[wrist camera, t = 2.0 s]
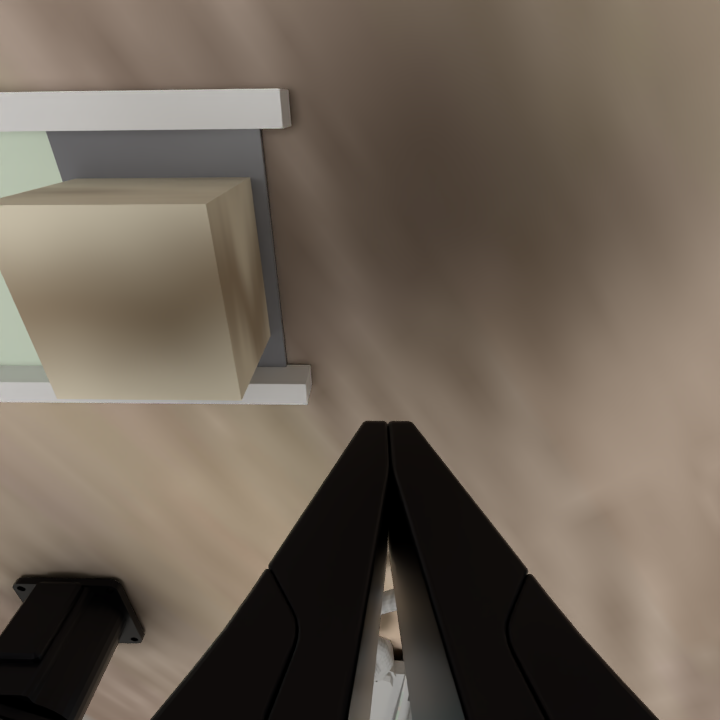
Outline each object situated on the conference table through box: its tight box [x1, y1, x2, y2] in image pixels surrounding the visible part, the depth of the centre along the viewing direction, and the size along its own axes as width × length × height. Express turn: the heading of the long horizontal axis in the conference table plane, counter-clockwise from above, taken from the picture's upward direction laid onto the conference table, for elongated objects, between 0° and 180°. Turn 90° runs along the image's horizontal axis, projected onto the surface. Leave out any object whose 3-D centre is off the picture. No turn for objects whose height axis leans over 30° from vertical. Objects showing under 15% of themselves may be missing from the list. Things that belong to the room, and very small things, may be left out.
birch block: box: [0, 177, 271, 401], centre depth 14 cm, size 6×6×4 cm
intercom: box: [370, 589, 412, 720], centre depth 29 cm, size 13×4×25 cm
